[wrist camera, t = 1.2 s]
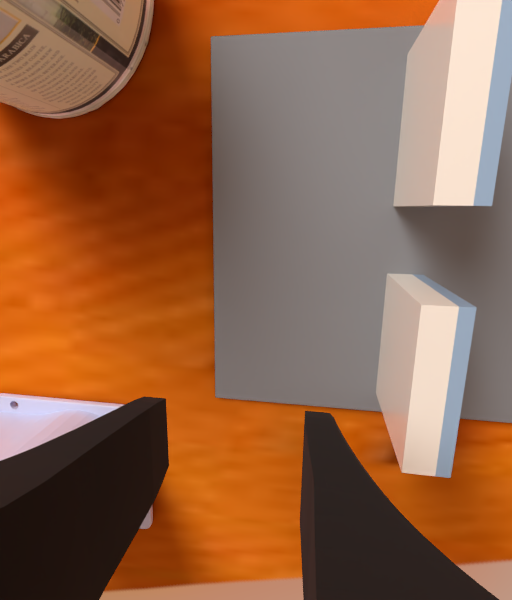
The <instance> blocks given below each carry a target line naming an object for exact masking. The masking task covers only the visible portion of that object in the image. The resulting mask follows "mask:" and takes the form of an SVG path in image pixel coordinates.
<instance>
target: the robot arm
mask: <svg viewBox="0 0 512 600" xmlns="http://www.w3.org/2000/svg"><path fill="white" fill-rule="evenodd" d="M16 403H18V405H17V404H16ZM168 466H169V459H168V437H167V416H166V399H164V398H153V397H142V398H139V399H137V400H134V401H132V402H130V403H128V404H126V405H125V404H114V403H103V402H92V401H82V400H71V399H60V398H49V397H38V396H27V395H17V394H6V393H0V600H99V599H100V597H101V595H102V593H103V591H104V589H105V587H106V586H107V584H108V582H109V580H110V579H111V577H112V575H113V573H114V572H115V570H116V568H117V566H118V565H119V563H120V561H121V559H122V558H123V556H124V554H125V552H126V551H127V549H128V547H129V545H130V544H131V542H132V540H133V538H134V537H135V535H136V533H137V531H138V530H139V528H140V529H148V528H149V527H150V526H151V524H152V522H153V508H152V504H153V503H154V501H155V498H156V496H157V494H158V491H159V489H160V487H161V484H162V482H163V479H164V477H165V474H166V471H167V469H168ZM300 531H301V553H302V574H303V592H304V593H303V595H304V600H499V599H497V598H496V597H495V596H494V595H492V594H491V593H490V592H488V591H487V590H486V589H485V588H483V587H482V586H481V585H479V584H478V583H477V582H476V581H474V580H473V579H472V578H471V577H470V576H468V575H467V574H466V573H465V572H463V571H462V570H461V569H460V568H459V567H458V566H456V565H455V564H454V563H453V562H452V561H451V560H449V559H448V558H447V557H446V556H445V555H444V554H443V553H442V552H441V551H439V550H438V549H437V548H436V547H435V546H434V545H433V544H432V543H431V542H429V541H428V540H427V539H426V538H425V537H424V536H423V535H422V534H421V533H420V532H419V531H418V530H417V529H416V528H415V527H414V526H413V525H412V524H411V523H410V522H409V521H408V520H407V519H406V518H405V517H404V516H403V515H402V514H401V513H400V512H399V511H398V510H397V509H396V507H395V506H394V505H393V504H392V503H391V502H390V501H389V499H388V498H387V497H386V496H385V495H384V493H383V492H382V491H381V490H380V488H379V487H378V486H377V485H376V483H375V482H374V481H373V479H372V478H371V477H370V476H369V474H368V473H367V471H366V470H365V469H364V467H363V466H362V464H361V463H360V462H359V460H358V459H357V457H356V456H355V454H354V453H353V451H352V450H351V448H350V447H349V445H348V443H347V442H346V440H345V438H344V437H343V435H342V433H341V431H340V430H339V428H338V426H337V424H336V422H335V419H334V417H333V416H332V415H331V414H330V413H323V412H311V411H305V425H304V446H303V467H302V488H301V509H300Z"/></svg>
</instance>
